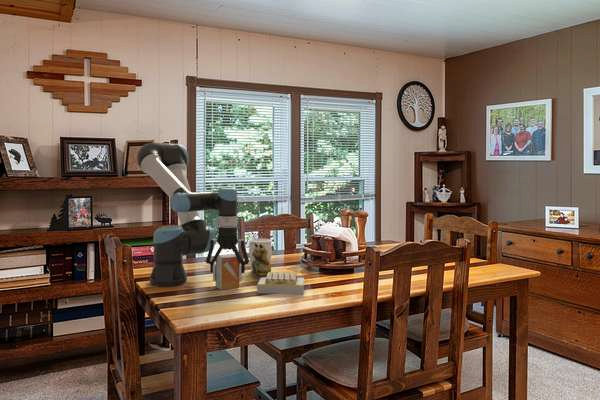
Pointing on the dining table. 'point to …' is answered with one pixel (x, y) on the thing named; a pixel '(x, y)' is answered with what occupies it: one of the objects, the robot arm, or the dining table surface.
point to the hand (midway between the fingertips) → (227, 280)
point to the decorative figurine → (260, 262)
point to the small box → (227, 271)
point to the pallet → (281, 278)
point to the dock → (281, 287)
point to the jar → (259, 241)
